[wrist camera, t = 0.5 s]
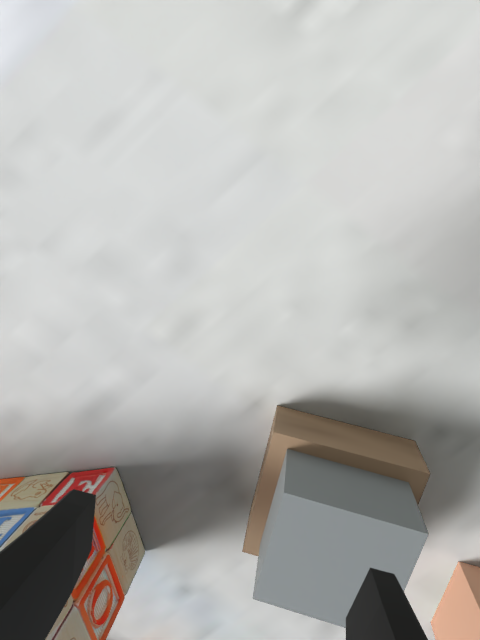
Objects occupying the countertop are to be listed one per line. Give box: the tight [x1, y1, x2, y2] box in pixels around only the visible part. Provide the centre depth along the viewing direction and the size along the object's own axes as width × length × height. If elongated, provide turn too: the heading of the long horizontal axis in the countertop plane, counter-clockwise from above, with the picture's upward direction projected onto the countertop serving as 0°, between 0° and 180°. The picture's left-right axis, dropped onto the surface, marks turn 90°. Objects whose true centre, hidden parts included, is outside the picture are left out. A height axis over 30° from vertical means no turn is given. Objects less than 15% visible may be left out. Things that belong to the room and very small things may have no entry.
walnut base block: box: [242, 405, 430, 556], centre depth 20 cm, size 7×7×3 cm
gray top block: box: [253, 449, 428, 628], centre depth 17 cm, size 6×6×3 cm
